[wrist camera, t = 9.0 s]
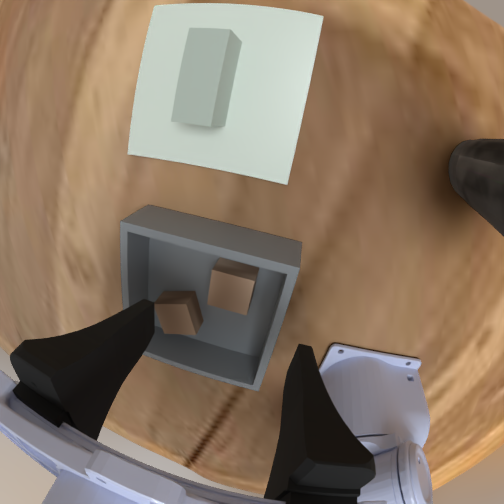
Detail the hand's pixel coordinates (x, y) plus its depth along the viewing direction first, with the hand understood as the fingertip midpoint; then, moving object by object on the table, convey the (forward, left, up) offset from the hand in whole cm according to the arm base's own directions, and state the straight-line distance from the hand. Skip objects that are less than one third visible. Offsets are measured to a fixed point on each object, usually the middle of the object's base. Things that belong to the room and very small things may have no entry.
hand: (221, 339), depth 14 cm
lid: (+5, -12, -10) cm, 16 cm away
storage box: (+3, +4, -9) cm, 11 cm away
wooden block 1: (+5, +6, -9) cm, 12 cm away
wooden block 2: (+1, +2, -9) cm, 9 cm away
